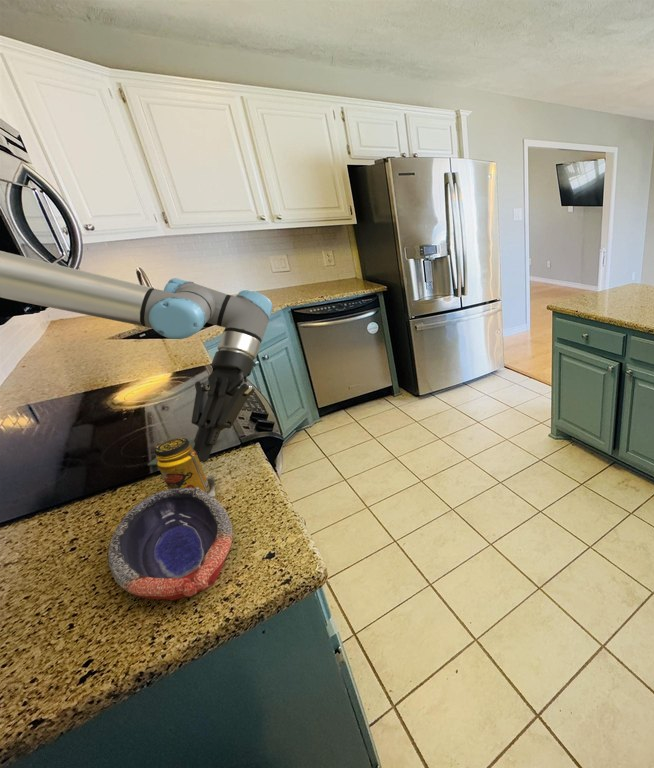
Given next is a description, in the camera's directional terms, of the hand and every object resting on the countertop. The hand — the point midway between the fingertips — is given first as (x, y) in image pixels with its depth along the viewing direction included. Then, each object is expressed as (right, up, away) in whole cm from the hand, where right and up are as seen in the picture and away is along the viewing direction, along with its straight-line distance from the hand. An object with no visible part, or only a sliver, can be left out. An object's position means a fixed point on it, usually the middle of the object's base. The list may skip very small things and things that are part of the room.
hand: (198, 459), depth 83 cm
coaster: (-13, -1, +13) cm, 19 cm away
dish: (+9, -13, -15) cm, 22 cm away
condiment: (0, -7, -1) cm, 7 cm away
